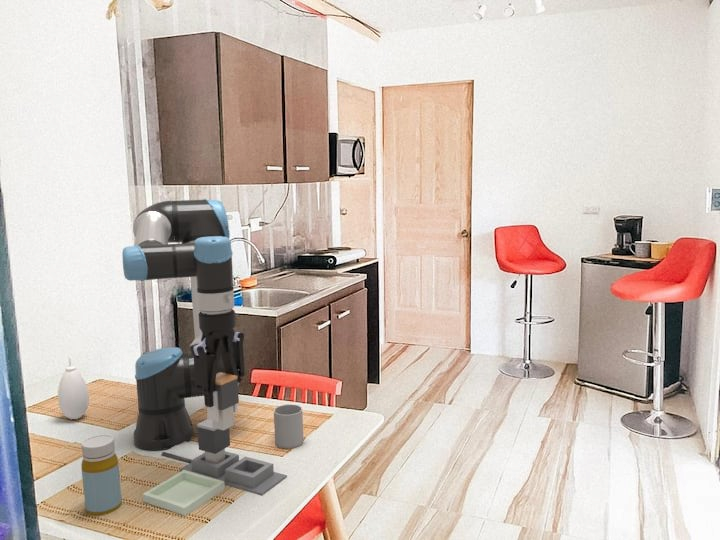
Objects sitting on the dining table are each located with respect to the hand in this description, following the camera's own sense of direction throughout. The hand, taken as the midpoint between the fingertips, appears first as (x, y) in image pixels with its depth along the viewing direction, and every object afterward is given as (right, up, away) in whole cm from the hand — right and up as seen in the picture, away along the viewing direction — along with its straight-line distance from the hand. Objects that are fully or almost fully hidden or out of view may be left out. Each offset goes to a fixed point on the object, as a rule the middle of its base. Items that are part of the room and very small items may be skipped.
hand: (222, 415), depth 135 cm
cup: (+11, -13, +26) cm, 31 cm away
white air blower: (-52, -11, +43) cm, 68 cm away
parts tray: (-8, -18, -1) cm, 19 cm away
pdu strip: (-4, -16, +10) cm, 19 cm away
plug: (0, -3, 0) cm, 3 cm away
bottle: (-24, -19, -5) cm, 31 cm away
